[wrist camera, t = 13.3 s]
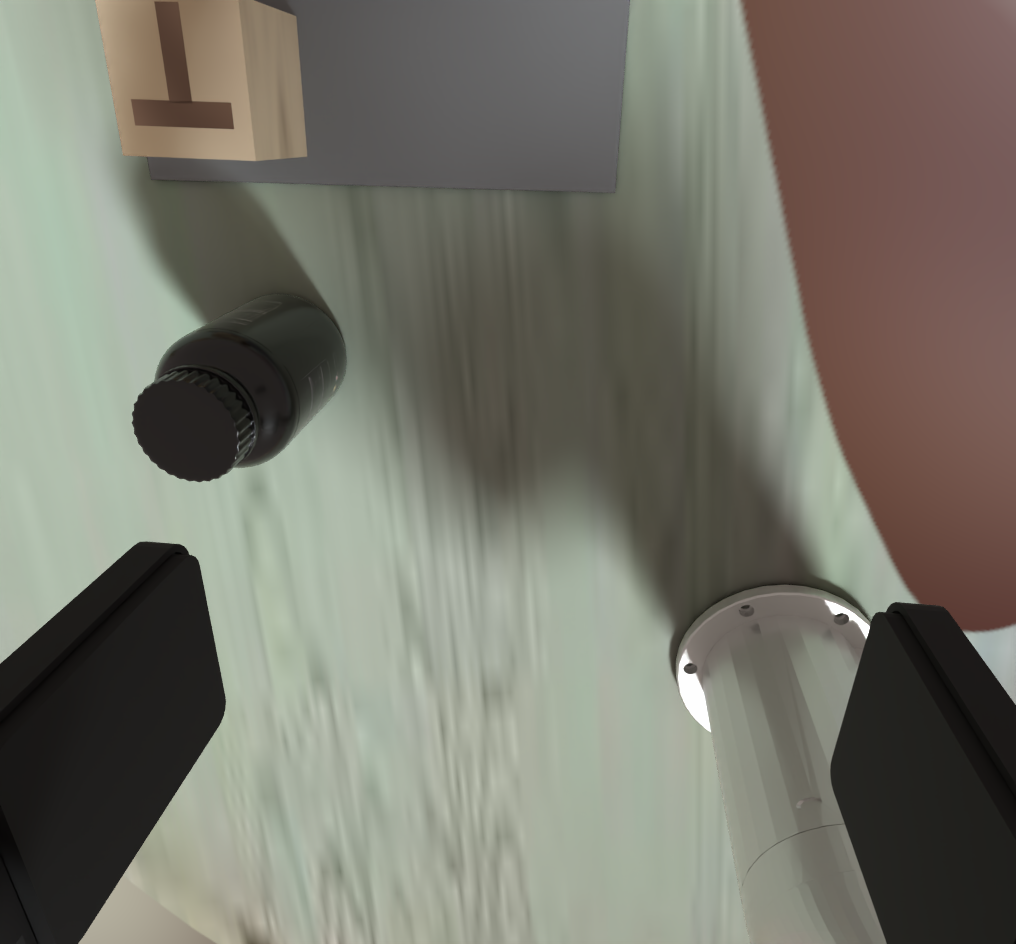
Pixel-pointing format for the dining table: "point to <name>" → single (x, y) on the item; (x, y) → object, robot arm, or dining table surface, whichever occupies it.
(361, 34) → the mat
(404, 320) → the dining table surface
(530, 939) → the dining table surface
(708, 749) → the dining table surface
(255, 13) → the maple block
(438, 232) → the dining table surface
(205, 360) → the supplement bottle
